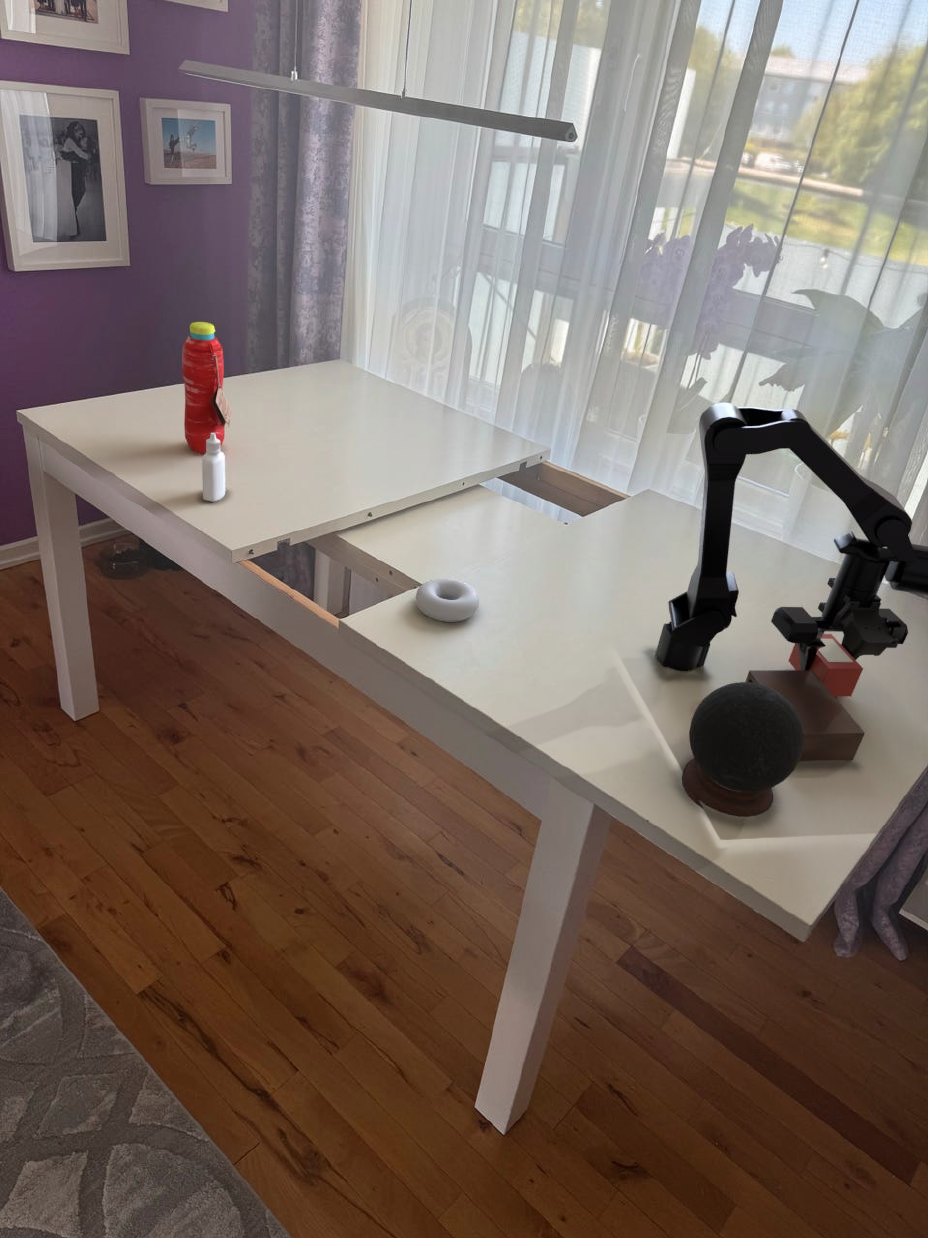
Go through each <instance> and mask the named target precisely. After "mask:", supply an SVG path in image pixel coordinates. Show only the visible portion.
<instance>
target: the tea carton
mask: <svg viewBox="0 0 928 1238" xmlns="http://www.w3.org/2000/svg"><path fill="white" fill-rule="evenodd" d="M821 641H822V642H823V643H824V644H825V645H826V646H825V647H822V648H820V649H818V650H817V653H816V655H815V658H814V660H813V662H812V665H811V667H810V669H809V670H813V671H814V673H815V674H816V675H817V676H818V677H819V679H820V680H821V681H822V682H823V683H824V685H825V686H826V687H827V688H828V689H829V690H830V692H831V693H832V694H833V695H834V696H835V698H837V697H840V698H841V697H852V695H853V693H854V691H855V689H856V686H857V684H858V681H859V680H860V677H861V675H862V672H863V670H864V668H863V667H862V665H861V664H859V662H858V661H857V659H856V660H855V659H854V658H853V657H852V656H851V655H850V654H849V653H848V652H847V650H846V649H845V648H844V647H843V646H842V645H841V644H842V643H840V642H839V641H838V639H837V638H836V637H835V636H834V635H833V634H832V633H824V634H823V635H822V638H821ZM788 662H789V664H790V665H791V666H792V667H793V669H794V670H800V661H799V653H798V645H797V643H794V644H793V647H792V650H791V652H790V655H789V658H788Z"/></svg>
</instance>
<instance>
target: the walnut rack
mask: <svg viewBox="0 0 928 1238" xmlns="http://www.w3.org/2000/svg"><path fill="white" fill-rule="evenodd" d="M744 682H750V683H757V684H761V685H764V686H767V687H769V688H772V689H773V690H775V691H777V692H778V693H780V694H781V695H782V696H783V697H784V698H786V699H787V700H788V701H789V703H790V704H791V705H792V706H793V707H794V709H795V711H796V712H797V714H798V716H799V718H800V721H801V724H802V728H803V732H804V741H803V751H802V754H801V758H800V760H799V762H820V761H821V762H826V761H827V762H828V761H853V760H854V758H855V756H856V754H857V753H858V749H859V748H860V745H861V743H862V741H863V738H864V736H865V735H866V732H865V731H864V729H863V728H862V727H861V726H860V724H858V722H857V721H856V720H855V719H854V717H852V716H851V714H850V713H849V712H848V710H847V709H846V708H845V707H844V706H843V704H842V703H841V702H840V700H838V699H837V697H835V696H834V695H833V694H832V693H831V692H830V690H829V689H828V688H827V687H826V686H825V685H824V683H823V682H822V681H821V680H820V679H819V677H818V676H817V675H816V674H815V673H814V671H813V670H795V669H794V670H793V669H787V670H782V669H780V670H773V669H772V670H771V669H770V670H769V669H768V670H767V669H765V670H764V669H763V670H760V669H759V670H758V669H757V670H756V669H754V670H753V669H752V670H751V669H750V670H748V673H747V675H746V679H745V681H744Z"/></svg>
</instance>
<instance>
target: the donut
mask: <svg viewBox="0 0 928 1238" xmlns="http://www.w3.org/2000/svg"><path fill="white" fill-rule="evenodd" d="M414 598H415V603H416V606H417V608H418V609H419V610H420V611H421V612H422V613H423V614H424V615H426V616H427V617H429V618H430V619H434V620H435V621H436V620H437V621H440V622H447V623H450V622H451V623H452V622H453V623H454V622H457V623H458V622H462V621H465V620H467V619H469V618H472V617H473V615H474V614H475V613H476V612H477V611H478V609H479V606H480V597H479V595H478V593H477V591H476V590H475V589H474V588H473V587H472V586H471V585H469V584H467V583H465V582H464V581H461V580H457V579H455V578H454V579H453V578H446V577H444V578H442V577H441V578H440V577H439V578H433V579H430V580H428V581H425V582H423V583H422V584H421V585H420V586H419V587H418V588H417V589H416V593H415V597H414Z"/></svg>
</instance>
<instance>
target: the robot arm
mask: <svg viewBox="0 0 928 1238" xmlns="http://www.w3.org/2000/svg"><path fill="white" fill-rule="evenodd" d="M698 431H699V439H700V449H701V454H702V461H703V469H704V481H703V493H702V506H701V519H700V532H699V543H698V556H697V557H698V559H697V564H696V565H695V566H696V567H695V568H694V570H693V572H692V574H691V577H690V579H689V584H688V588H687V590H686V591H684V592H683V593H681V594H679V595H678V596H676V597H673V598H672V599H669V601H668V602H667V604H668V605H667V606H668V611H669V616H670V617H669V618H670V621H669V622H668V623H663V625H662V629H661V633H660V636H659V638H658V639H659V640H658V643H657V647H656V649H655V654H654V655H655V657H656V659H657V660H658V662H659V664H660V666H661V667H662V668H669V669H671V670H674V671H678V672H684V673H685V672H691V671H694V670H695V669H697V668H701V667H703V666H704V665H705V663H706V660H707V656H708V654H709V651H710V647H711V642H712V641H713V640H714V638H715V637H716V636H717V635H718V634H719V633H722V632H723V631H724V630H726V629H728V628H729V627H730V625H731V622H732V619H733V617H734V618H737V617H738V615H737V610H736V605H737V601H738V598H739V593H740V591H739V587H738V584H737V580H736V577H735V574H734V571H728V572H727V570H728V563H729V562H728V561H729V548H730V539H731V529H732V520H733V511H734V510H733V509H734V499H735V490H736V489H735V488H736V482H737V478H738V476H739V474H740V472H741V470H742V468H743V466H744V464H745V461H746V457H747V455H761V454H765V453H769V452H773V451H776V450H783V449H784V450H785V449H789V450H790V451H791V452H792V453H793V454H794V455H795V456H796V457H797V458H798V459H799V460H800V461H801V462H802V463H803V464H804V465H805V466H806V467H807V468H808V469H809V470H810V471H811V472H812V473H813V474H814V475H815V476H816V477H818V479H819V480H820V481H821V482H822V483H824V485H825V486H827V488H828V489H830V490H831V492H832V493H833V494H835V495H836V496H837V497H838V498H839V499H840V500H841V501H842V502H843V503H844V506H845V507H846V508H847V510H848V511H849V513H850V514H851V516H852V517H853V519H854V520H855V522H856V523H857V525H858V526H859V528H860V530H861V531H862V533H863V534H864V536H865V537H866V539H864V538H858V537H856V535H855V534H854V532H853V531H848V532H847V533H845V534H843V535H839V536H837V537H835V538H834V539H833V543H834V545H835V547H836V549H837V551H838V552H839V553H840V554H842V555H843V554H844V555H843V559H842V561H841V564H840V566H839V568H838V569H839V570H838V572H837V574H836V577H829V579H828V581H827V586H829V587H830V589H831V590H830V592H829V595H828V597H827V600H826V602H819V604H818V606H817V609H818V611H819V612H820V613H821V616H811V615H810V613H809V612H808V611H807V610H806V609H805V608H804V607H803V606H779V607H777V608H775V610H774V612H773V615H772V617H771V621H770V622H771V623H772V625H773V626H774V627H775V628H776V629H777V631H778V632H779V633H780V634H781V635H782V637H783V638H784V640H786V641H787V642H789V643H791V644H795V643H797V645H798V653H799V661H800V670H809V669H810V667H811V665H812V662H813V660H814V658H815V655H816V653H817V650H818V649H820V648H822V647H825V646H826V645H825V644H824V643H823V642H822V641H821V638H822V635H823V634H825V632H830V633H831V632H834V633H835V632H836V633H837V632H838V633H840V632H841V633H842V634H843V636H842V640H841V643H840V644H841V645H842V646H843V647H844V648H845V649H846V650H847V652H848V653H849V654H850V655H851V656H852V657H853V658H854V659H855V660H856V661H857V660H858V659H859V658H860V657H862V656H874V657H879V656H881V655H882V654H883V652H885V650H886V649H897V648H898V645H903V644H905V641H906V639H907V637H908V634H909V627H908V625H907V624H906V623H905V622H904V621H903V620H902V619H901V618H900V617H899V616H898V615H897V614H896V613H895V612H894V611H893V610H892V609H891V608H882V607H881V605H882V598H881V597H880V596H878V593H879V590H880V587H881V586H882V583H883V580H884V579H885V581H886V582H888V583H889V586H890V588H891V589H892V590H893V591H897V592H905V593H910V594H917V595H922V596H923V595H924V596H928V546H927V545H922V544H917V543H916V544H915V543H913V542H911V539H910V536H909V535H910V533H911V531H912V527H913V520H912V518H911V516H910V515H909V513H908V512H907V511H906V510H905V508H904V506H903V505H902V504H901V502H900V501H899V499H898V498H897V497H896V495H894V494H892V492H889V491H888V490H886V489H885V488H883V487H882V486H880V485H879V484H878V483H876V482H873V481H871V480H869V479H867V478H866V477H865V476H863V475H861V474H860V473H859V472H858V471H857V470H856V469H855V467H853V466H852V465H851V463H849V462H848V461H847V460H846V458H844V457H843V456H842V455H841V453H839V452H838V451H837V450H836V449H835V448H834V447H833V446H832V445H831V443H829V442H828V440H826V439H825V437H824V436H822V435H821V433H819V431H818V430H816V429H815V428H814V426H812V425H811V423H809V420H807V418H806V417H805V415H804V414H803V412H801V411H799V410H798V409H793V408H792V409H790V408H789V409H773V408H766V407H765V408H764V407H755V406H736V405H734V404H732V403H730V402H717V403H714V404H713V405H710V406H709V407H708V408H706V409H705V410H704V411H703V412H702V413H701V415H700V417H699V421H698ZM880 607H881V608H880Z"/></svg>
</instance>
